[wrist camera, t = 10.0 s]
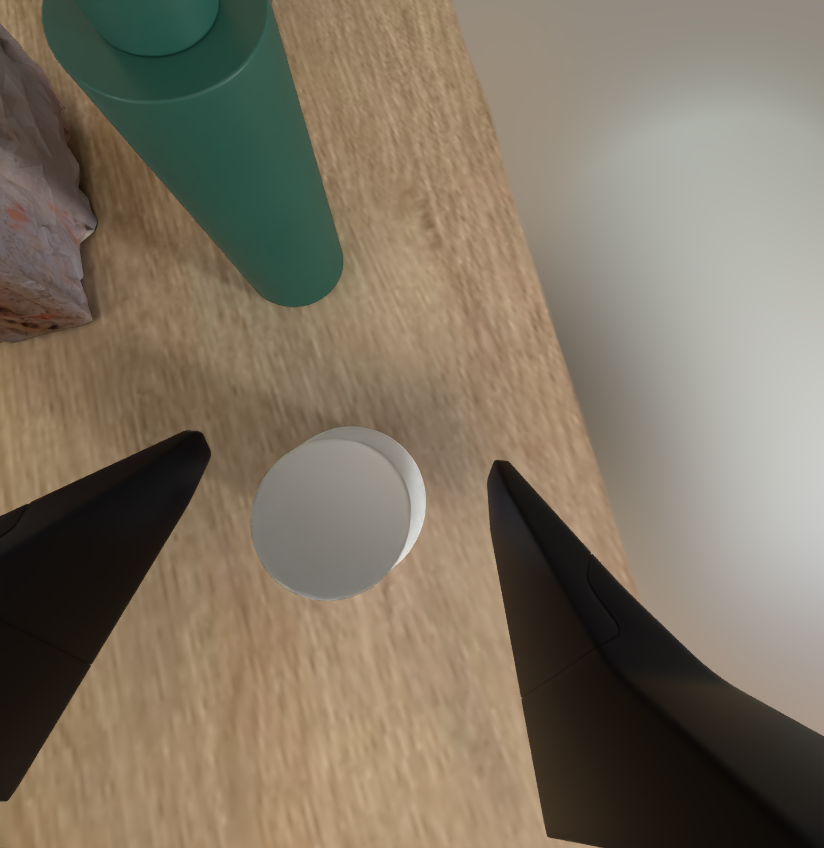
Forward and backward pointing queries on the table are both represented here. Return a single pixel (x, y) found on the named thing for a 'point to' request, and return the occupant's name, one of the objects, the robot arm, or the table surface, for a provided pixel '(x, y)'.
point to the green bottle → (211, 126)
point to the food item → (37, 205)
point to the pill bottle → (338, 513)
